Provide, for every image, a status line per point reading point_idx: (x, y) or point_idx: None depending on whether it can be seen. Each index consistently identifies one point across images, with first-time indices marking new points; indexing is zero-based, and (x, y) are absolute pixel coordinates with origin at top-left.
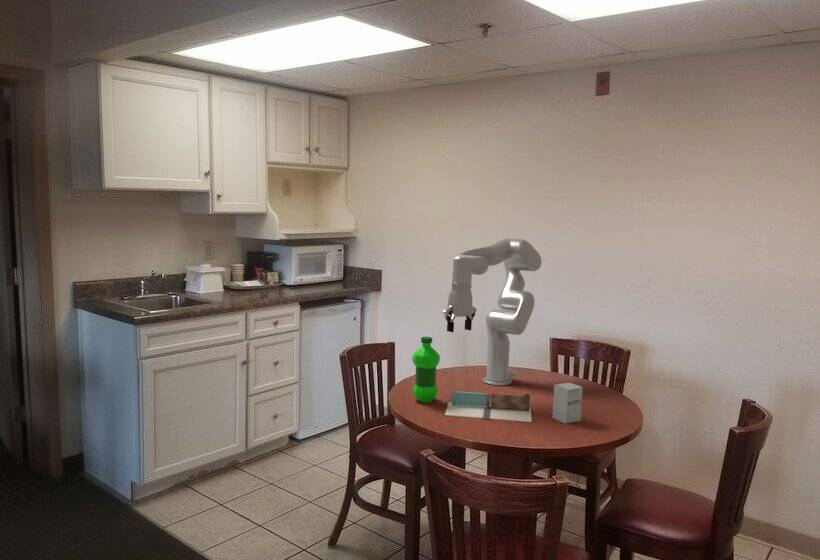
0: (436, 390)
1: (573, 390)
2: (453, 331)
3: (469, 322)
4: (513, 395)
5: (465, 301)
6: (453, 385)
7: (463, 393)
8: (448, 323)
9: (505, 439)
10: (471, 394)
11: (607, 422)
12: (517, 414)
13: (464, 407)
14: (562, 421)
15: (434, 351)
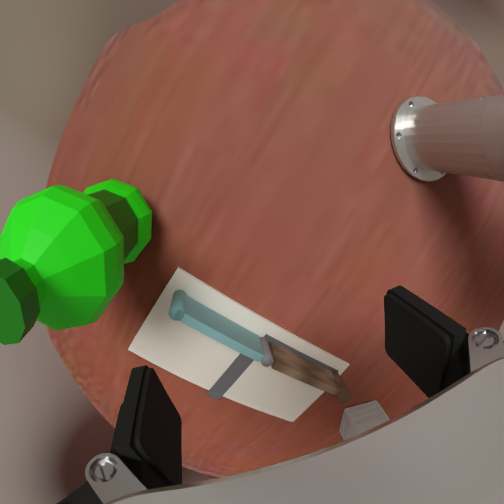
0: (136, 255)
1: None
2: (177, 423)
3: (427, 386)
4: (321, 383)
5: None
6: (288, 102)
7: (201, 331)
8: (120, 458)
9: (197, 457)
10: (222, 342)
11: None
12: (294, 391)
13: None
14: (340, 427)
15: (72, 311)
